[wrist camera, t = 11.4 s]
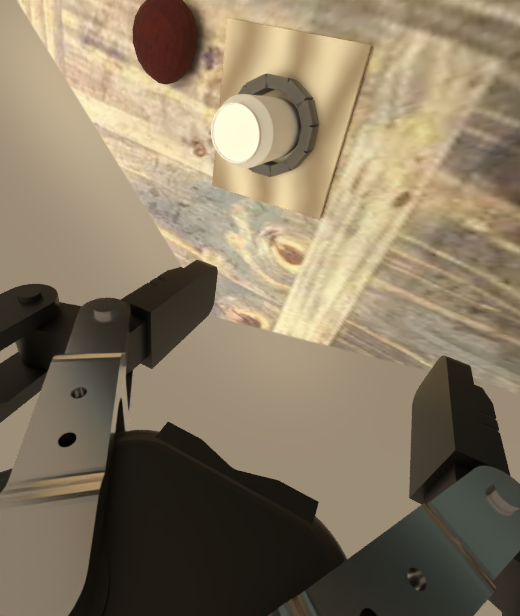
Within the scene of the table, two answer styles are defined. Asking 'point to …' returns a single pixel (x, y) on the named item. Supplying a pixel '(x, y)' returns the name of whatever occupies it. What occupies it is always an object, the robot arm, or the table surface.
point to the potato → (164, 39)
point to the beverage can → (255, 129)
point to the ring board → (308, 101)
